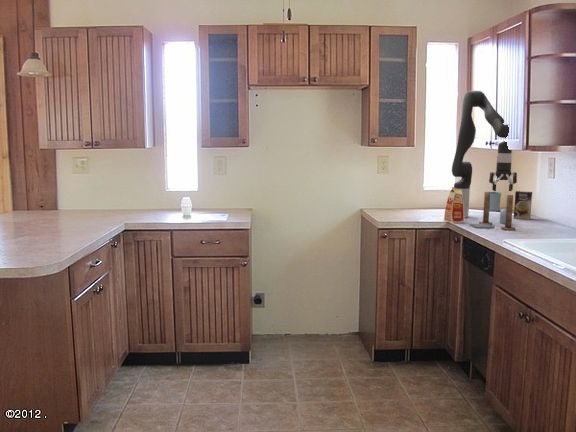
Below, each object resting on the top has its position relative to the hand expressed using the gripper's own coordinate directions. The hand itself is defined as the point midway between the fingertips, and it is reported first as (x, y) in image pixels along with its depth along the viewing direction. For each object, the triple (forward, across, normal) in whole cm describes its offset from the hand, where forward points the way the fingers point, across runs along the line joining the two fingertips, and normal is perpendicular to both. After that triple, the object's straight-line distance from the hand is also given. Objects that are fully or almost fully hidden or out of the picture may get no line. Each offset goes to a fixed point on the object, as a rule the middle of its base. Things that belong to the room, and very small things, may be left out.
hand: (502, 191), depth 309 cm
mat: (+19, +13, +8) cm, 24 cm away
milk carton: (+19, +22, -11) cm, 31 cm away
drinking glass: (+19, -16, -57) cm, 62 cm away
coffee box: (+19, -22, -23) cm, 37 cm away
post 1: (+19, +8, 0) cm, 20 cm away
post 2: (+19, +2, +16) cm, 24 cm away
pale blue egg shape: (+19, -4, -4) cm, 19 cm away
